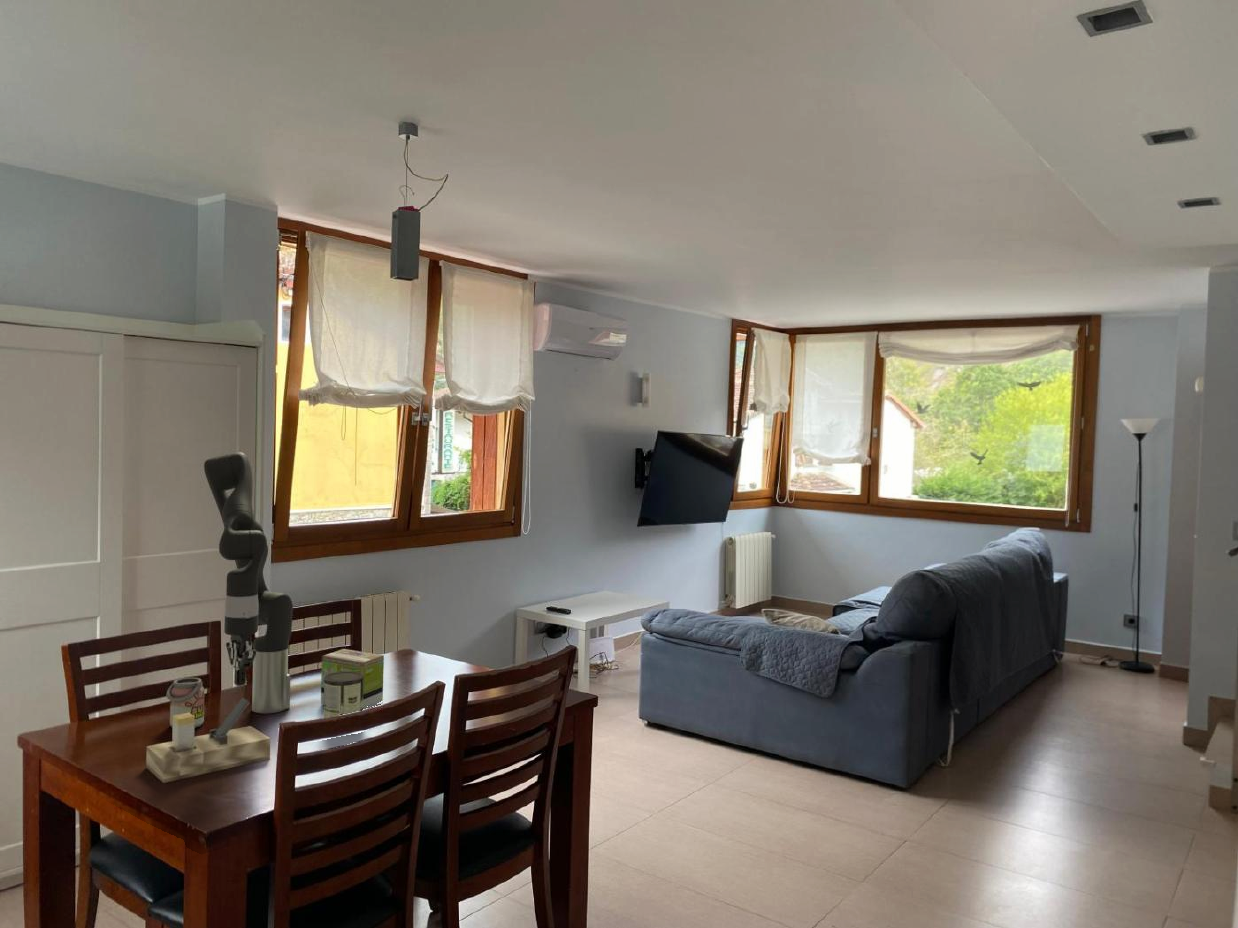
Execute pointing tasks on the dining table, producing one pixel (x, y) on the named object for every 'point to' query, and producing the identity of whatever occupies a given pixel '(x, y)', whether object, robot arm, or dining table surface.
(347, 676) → the coffee can
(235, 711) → the lever
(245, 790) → the dining table surface
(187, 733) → the pin
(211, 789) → the dining table surface
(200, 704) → the beverage can
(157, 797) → the dining table surface
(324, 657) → the tea box
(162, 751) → the block
